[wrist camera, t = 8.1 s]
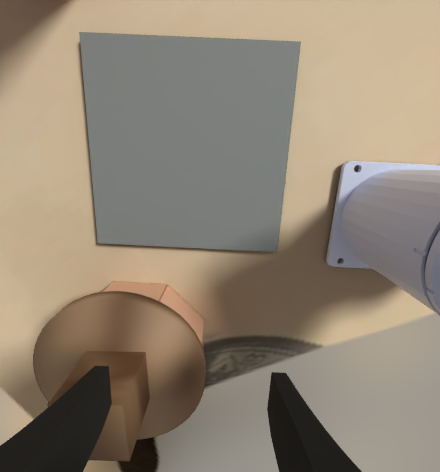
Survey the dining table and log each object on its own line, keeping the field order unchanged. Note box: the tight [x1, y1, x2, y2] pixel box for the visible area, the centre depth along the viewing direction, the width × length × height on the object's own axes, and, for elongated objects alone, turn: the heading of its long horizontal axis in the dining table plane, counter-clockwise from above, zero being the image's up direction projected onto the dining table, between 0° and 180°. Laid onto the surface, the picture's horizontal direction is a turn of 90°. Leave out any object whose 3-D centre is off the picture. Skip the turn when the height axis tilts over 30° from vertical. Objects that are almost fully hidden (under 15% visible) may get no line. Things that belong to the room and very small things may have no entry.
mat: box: [79, 32, 301, 252], centre depth 18 cm, size 14×14×1 cm
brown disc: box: [33, 291, 206, 461], centre depth 16 cm, size 12×12×5 cm
